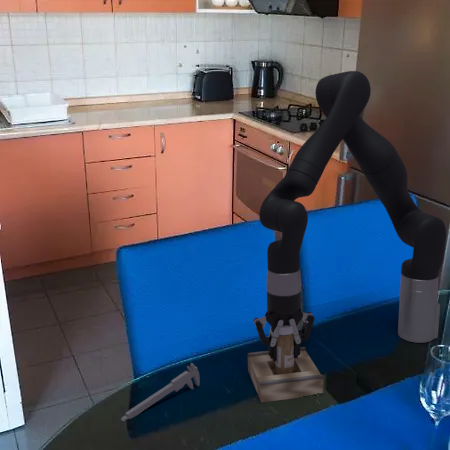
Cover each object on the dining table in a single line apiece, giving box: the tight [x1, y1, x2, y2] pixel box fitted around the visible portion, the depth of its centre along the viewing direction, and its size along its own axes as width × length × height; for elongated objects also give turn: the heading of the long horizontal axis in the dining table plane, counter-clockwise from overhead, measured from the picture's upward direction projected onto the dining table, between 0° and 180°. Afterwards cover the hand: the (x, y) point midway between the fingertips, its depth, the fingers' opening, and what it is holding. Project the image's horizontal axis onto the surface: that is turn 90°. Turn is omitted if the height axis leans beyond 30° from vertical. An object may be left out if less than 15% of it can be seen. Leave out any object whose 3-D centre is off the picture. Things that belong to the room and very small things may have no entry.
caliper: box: [120, 362, 201, 423], centre depth 129 cm, size 20×1×6 cm, turn 131°
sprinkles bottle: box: [275, 325, 294, 375], centre depth 134 cm, size 5×5×13 cm
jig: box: [247, 346, 324, 403], centre depth 135 cm, size 14×14×5 cm
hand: (284, 357), depth 134 cm, fingers closed on sprinkles bottle, 4 cm apart
